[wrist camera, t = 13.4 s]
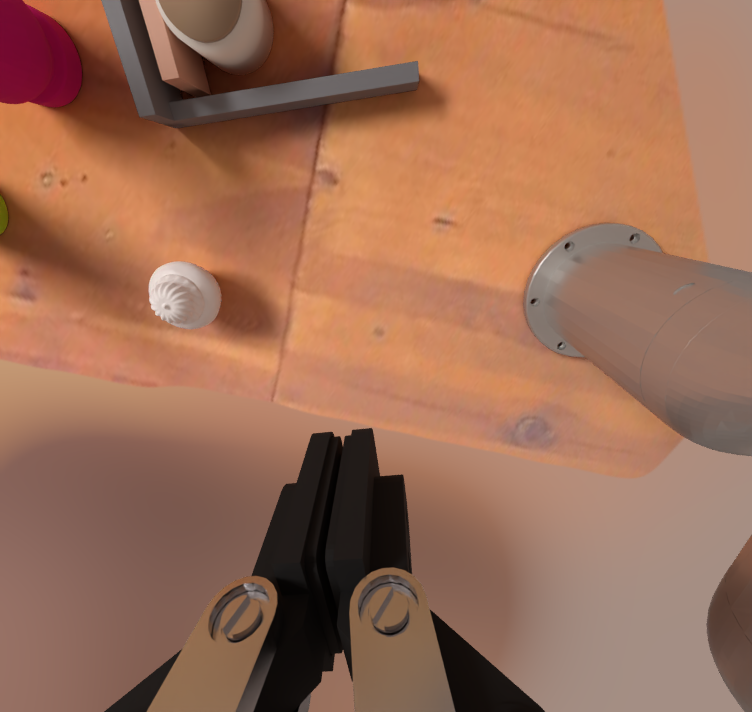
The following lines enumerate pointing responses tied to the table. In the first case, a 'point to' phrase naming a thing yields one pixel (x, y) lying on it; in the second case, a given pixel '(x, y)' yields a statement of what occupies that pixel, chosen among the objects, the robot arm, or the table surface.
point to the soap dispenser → (3, 215)
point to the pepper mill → (36, 58)
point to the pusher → (174, 54)
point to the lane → (173, 111)
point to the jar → (223, 30)
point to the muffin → (184, 295)
